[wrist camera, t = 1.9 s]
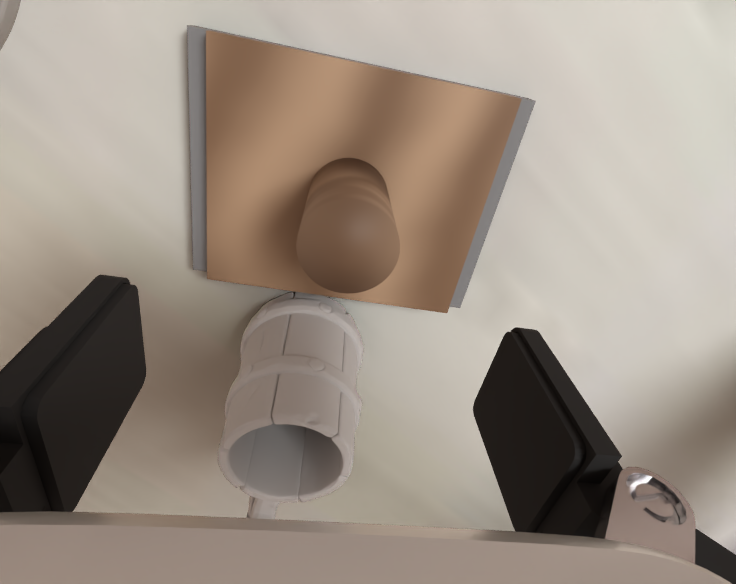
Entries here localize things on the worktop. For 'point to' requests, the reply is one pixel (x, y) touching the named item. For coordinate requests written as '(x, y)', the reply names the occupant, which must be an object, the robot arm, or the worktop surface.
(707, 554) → the robot arm
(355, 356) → the mug
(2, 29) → the dog bowl
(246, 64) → the walnut lid
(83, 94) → the worktop surface
